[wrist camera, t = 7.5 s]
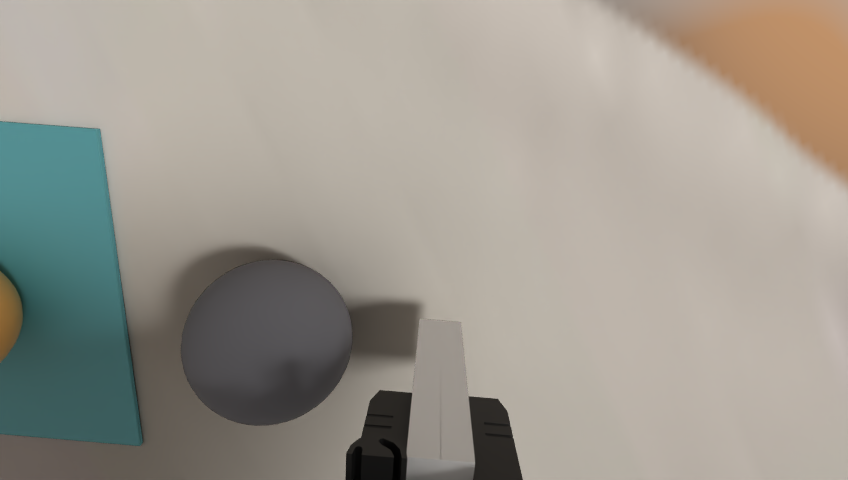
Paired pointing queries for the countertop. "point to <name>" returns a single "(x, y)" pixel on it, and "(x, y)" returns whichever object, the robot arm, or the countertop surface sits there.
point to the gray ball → (266, 342)
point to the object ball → (9, 316)
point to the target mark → (63, 291)
